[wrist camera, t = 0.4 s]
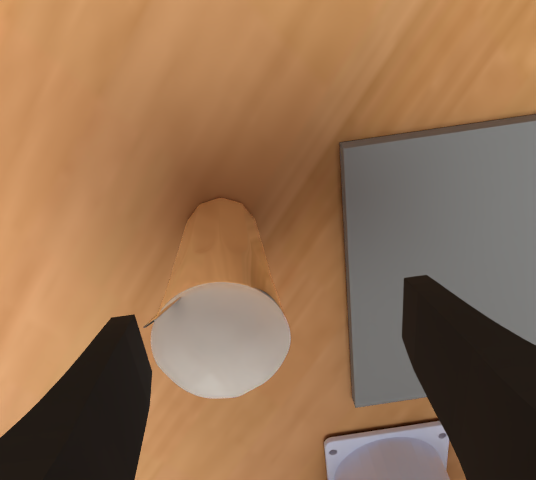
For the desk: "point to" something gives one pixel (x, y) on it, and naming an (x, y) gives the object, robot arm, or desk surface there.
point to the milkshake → (220, 307)
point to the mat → (436, 237)
